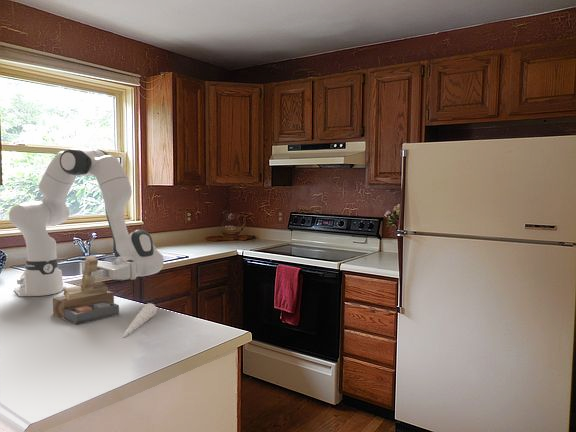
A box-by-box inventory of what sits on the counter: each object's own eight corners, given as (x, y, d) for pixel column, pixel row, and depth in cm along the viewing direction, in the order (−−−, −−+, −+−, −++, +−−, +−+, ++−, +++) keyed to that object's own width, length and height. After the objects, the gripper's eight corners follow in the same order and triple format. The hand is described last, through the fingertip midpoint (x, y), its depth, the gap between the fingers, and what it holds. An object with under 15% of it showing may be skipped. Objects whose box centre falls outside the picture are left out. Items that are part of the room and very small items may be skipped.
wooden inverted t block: (63, 294, 156) (69, 258, 151) (101, 287, 166) (108, 253, 162) (68, 300, 154) (74, 264, 149) (106, 293, 164) (113, 258, 160)
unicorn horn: (110, 338, 134) (110, 322, 133) (144, 315, 157) (144, 302, 157) (125, 339, 133) (125, 323, 133) (157, 316, 157) (157, 302, 156)
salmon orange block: (80, 310, 148) (80, 319, 149) (92, 307, 151) (92, 316, 152) (75, 308, 151) (75, 316, 151) (86, 305, 154) (87, 314, 154)
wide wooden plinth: (53, 314, 157) (52, 297, 157) (102, 304, 171) (101, 288, 171) (64, 319, 152) (63, 302, 151) (114, 308, 165) (113, 292, 165)
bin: (64, 319, 152) (64, 309, 151) (106, 310, 163) (106, 300, 163) (76, 324, 146) (76, 314, 146) (119, 314, 157) (118, 304, 157)
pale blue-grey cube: (99, 306, 153) (99, 315, 153) (110, 304, 156) (110, 312, 156) (93, 304, 156) (93, 312, 156) (104, 302, 159) (104, 310, 159)
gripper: (109, 256, 174) (73, 261, 163) (137, 262, 160) (100, 267, 150) (109, 272, 174) (74, 277, 164) (138, 279, 161) (101, 286, 150)
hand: (87, 273), depth 157 cm, fingers closed on wooden inverted t block, 4 cm apart
